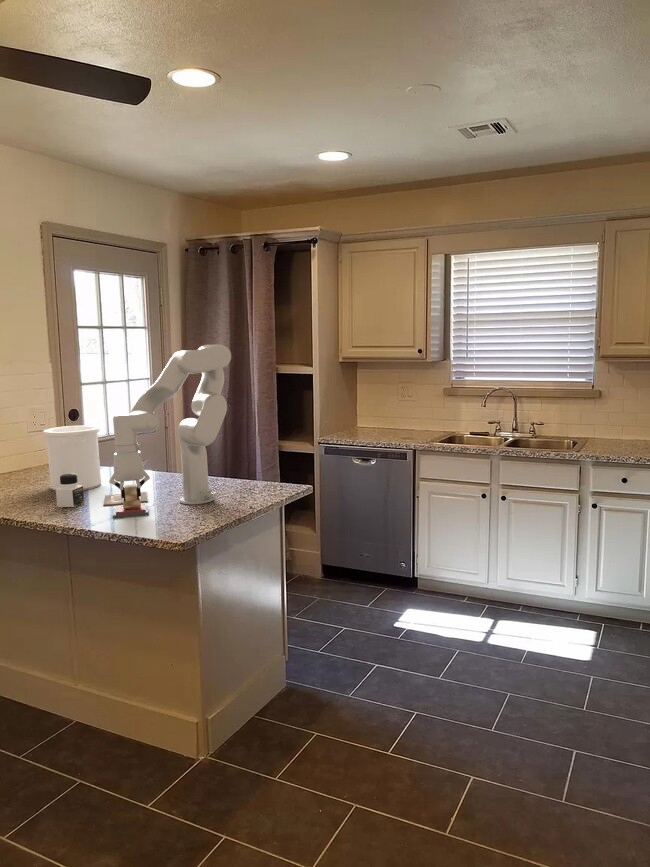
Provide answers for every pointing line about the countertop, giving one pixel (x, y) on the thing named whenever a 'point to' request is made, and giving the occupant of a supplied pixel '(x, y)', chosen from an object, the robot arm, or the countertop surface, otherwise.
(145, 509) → the ink pad
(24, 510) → the countertop surface
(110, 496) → the marked board
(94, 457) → the bucket
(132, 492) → the stamp
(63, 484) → the medicine bottle
